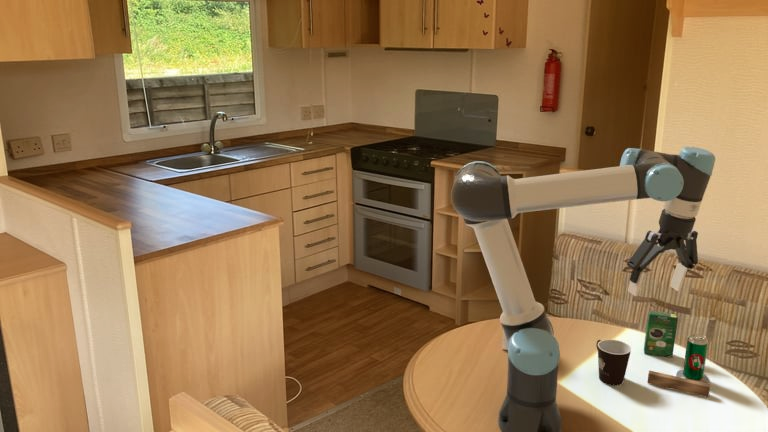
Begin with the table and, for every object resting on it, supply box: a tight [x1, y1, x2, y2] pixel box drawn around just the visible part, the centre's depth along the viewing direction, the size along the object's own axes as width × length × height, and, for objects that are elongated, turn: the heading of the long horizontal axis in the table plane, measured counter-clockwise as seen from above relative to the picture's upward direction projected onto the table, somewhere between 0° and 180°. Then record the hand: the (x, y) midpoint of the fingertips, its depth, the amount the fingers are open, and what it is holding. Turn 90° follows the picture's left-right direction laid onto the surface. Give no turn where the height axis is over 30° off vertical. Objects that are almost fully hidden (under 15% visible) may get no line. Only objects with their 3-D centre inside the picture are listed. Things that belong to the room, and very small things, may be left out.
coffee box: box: [643, 310, 679, 358], centre depth 188 cm, size 8×3×13 cm, turn 70°
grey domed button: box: [676, 369, 710, 384], centre depth 176 cm, size 8×8×1 cm
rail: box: [647, 370, 711, 398], centre depth 171 cm, size 15×2×3 cm, turn 61°
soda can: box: [682, 333, 709, 381], centre depth 174 cm, size 5×5×12 cm
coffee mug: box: [596, 338, 632, 387], centre depth 177 cm, size 12×9×10 cm
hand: (653, 291), depth 158 cm, fingers open, 13 cm apart
